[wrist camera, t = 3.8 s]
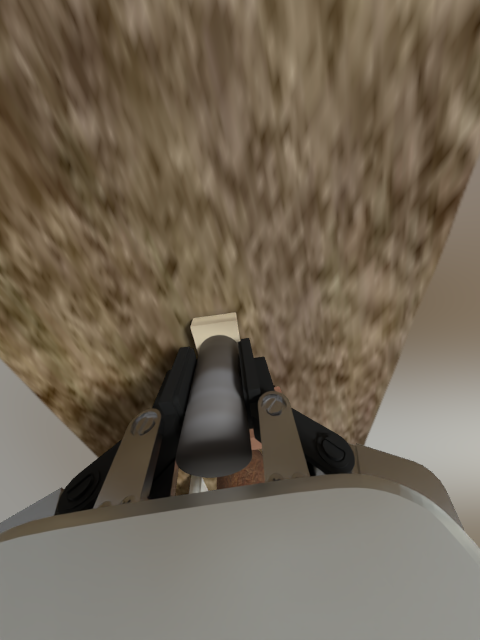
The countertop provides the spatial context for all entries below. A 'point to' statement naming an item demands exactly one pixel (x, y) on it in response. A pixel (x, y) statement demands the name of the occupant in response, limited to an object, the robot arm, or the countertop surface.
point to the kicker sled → (216, 404)
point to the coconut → (245, 474)
